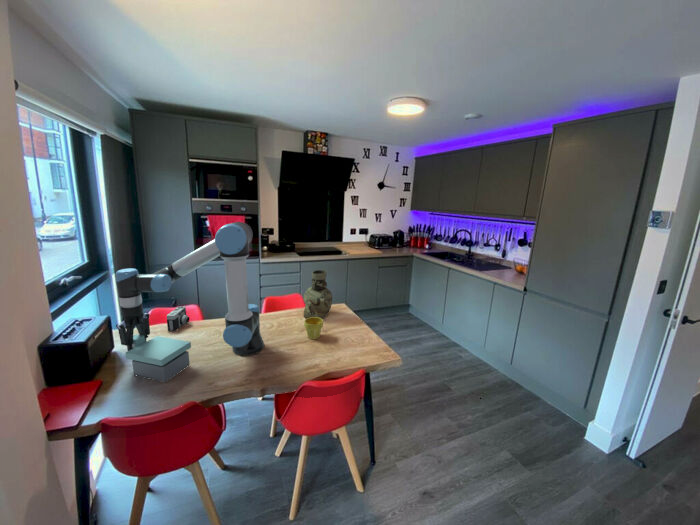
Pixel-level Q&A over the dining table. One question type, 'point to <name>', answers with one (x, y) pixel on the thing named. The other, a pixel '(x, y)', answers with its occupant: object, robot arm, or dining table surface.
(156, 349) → the lid
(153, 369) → the tub
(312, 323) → the plant pot
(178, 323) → the camera
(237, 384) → the dining table surface
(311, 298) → the ceramic vessel
